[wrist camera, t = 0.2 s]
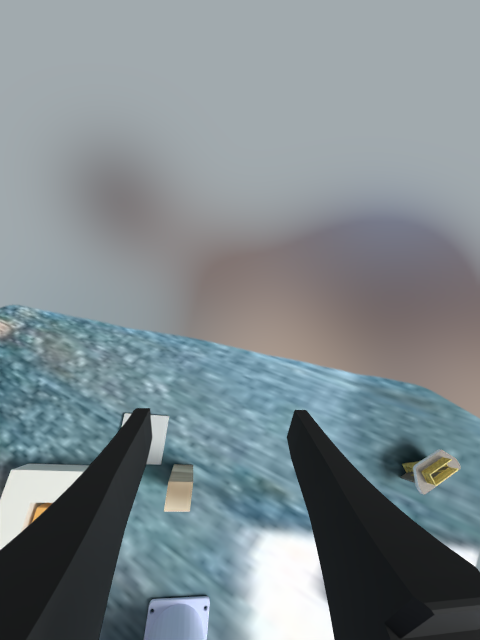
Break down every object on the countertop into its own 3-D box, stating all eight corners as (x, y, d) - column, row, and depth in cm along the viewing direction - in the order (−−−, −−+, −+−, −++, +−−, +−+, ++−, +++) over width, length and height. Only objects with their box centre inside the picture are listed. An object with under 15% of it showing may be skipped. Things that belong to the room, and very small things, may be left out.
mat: (161, 463, 36) (160, 464, 36) (114, 462, 35) (113, 463, 35) (169, 416, 39) (168, 416, 38) (125, 413, 38) (124, 413, 37)
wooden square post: (190, 487, 36) (189, 511, 28) (170, 486, 35) (163, 511, 27) (193, 464, 37) (193, 482, 29) (174, 464, 36) (168, 481, 28)
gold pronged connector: (360, 450, 43) (387, 457, 37) (425, 413, 48) (458, 414, 42) (393, 522, 40) (429, 542, 34) (459, 474, 45) (500, 484, 39)
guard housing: (93, 570, 31) (81, 589, 27) (-10, 573, 29) (-36, 594, 26) (116, 466, 35) (108, 472, 32) (28, 463, 33) (11, 469, 30)
